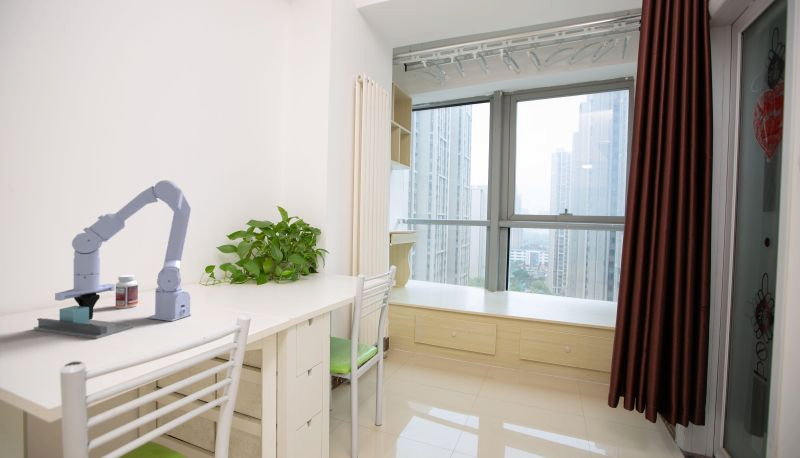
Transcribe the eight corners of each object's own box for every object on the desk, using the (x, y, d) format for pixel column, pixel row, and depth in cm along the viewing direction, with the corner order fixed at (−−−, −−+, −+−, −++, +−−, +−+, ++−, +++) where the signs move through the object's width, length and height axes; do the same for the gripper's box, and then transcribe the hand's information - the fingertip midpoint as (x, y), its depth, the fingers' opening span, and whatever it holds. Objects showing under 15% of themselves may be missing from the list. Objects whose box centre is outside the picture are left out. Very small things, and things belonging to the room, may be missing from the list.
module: (90, 323, 100) (90, 306, 100) (73, 328, 96) (73, 310, 96) (77, 321, 101) (77, 305, 101) (59, 326, 97) (59, 309, 97)
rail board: (133, 327, 101) (133, 317, 101) (96, 339, 91) (96, 327, 91) (74, 320, 106) (74, 310, 105) (33, 330, 96) (33, 319, 96)
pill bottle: (137, 303, 127) (137, 273, 126) (138, 307, 122) (138, 276, 122) (115, 305, 123) (115, 275, 122) (115, 309, 118) (115, 277, 118)
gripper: (102, 269, 109) (101, 311, 109) (46, 276, 95) (46, 325, 95) (120, 270, 107) (119, 313, 108) (66, 278, 93) (66, 327, 94)
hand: (86, 319), depth 101 cm, fingers closed, pressing on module
